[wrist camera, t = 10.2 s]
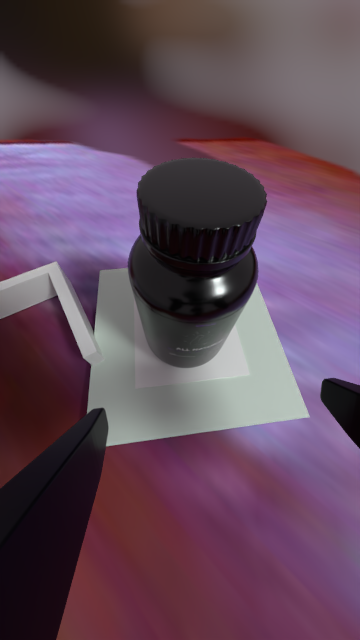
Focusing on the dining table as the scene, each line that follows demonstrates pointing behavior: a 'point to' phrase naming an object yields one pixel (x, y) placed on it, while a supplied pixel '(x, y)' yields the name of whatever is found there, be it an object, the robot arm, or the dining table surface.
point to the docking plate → (186, 374)
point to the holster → (43, 286)
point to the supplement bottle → (194, 256)
